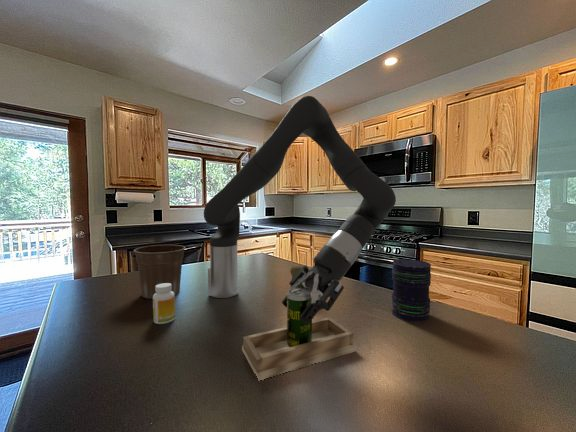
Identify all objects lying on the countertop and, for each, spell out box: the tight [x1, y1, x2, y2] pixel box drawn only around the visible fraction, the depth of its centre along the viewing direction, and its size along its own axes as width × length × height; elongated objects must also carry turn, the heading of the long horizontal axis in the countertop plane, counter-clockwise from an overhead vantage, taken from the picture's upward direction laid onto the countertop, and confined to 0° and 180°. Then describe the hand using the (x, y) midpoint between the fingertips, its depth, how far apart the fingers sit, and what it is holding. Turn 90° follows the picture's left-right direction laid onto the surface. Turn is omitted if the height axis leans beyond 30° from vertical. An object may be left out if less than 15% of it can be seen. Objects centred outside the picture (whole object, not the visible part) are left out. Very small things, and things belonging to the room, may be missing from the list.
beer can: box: [286, 288, 313, 348], centre depth 57 cm, size 5×5×12 cm
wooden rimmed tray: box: [241, 316, 357, 382], centre depth 57 cm, size 22×11×4 cm, turn 116°
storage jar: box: [391, 258, 432, 324], centre depth 75 cm, size 10×10×15 cm
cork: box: [289, 264, 305, 290], centre depth 88 cm, size 6×6×11 cm
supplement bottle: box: [152, 283, 176, 325], centre depth 72 cm, size 5×5×10 cm
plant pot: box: [133, 244, 186, 300], centre depth 93 cm, size 16×16×16 cm
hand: (293, 313), depth 56 cm, fingers open, 8 cm apart
